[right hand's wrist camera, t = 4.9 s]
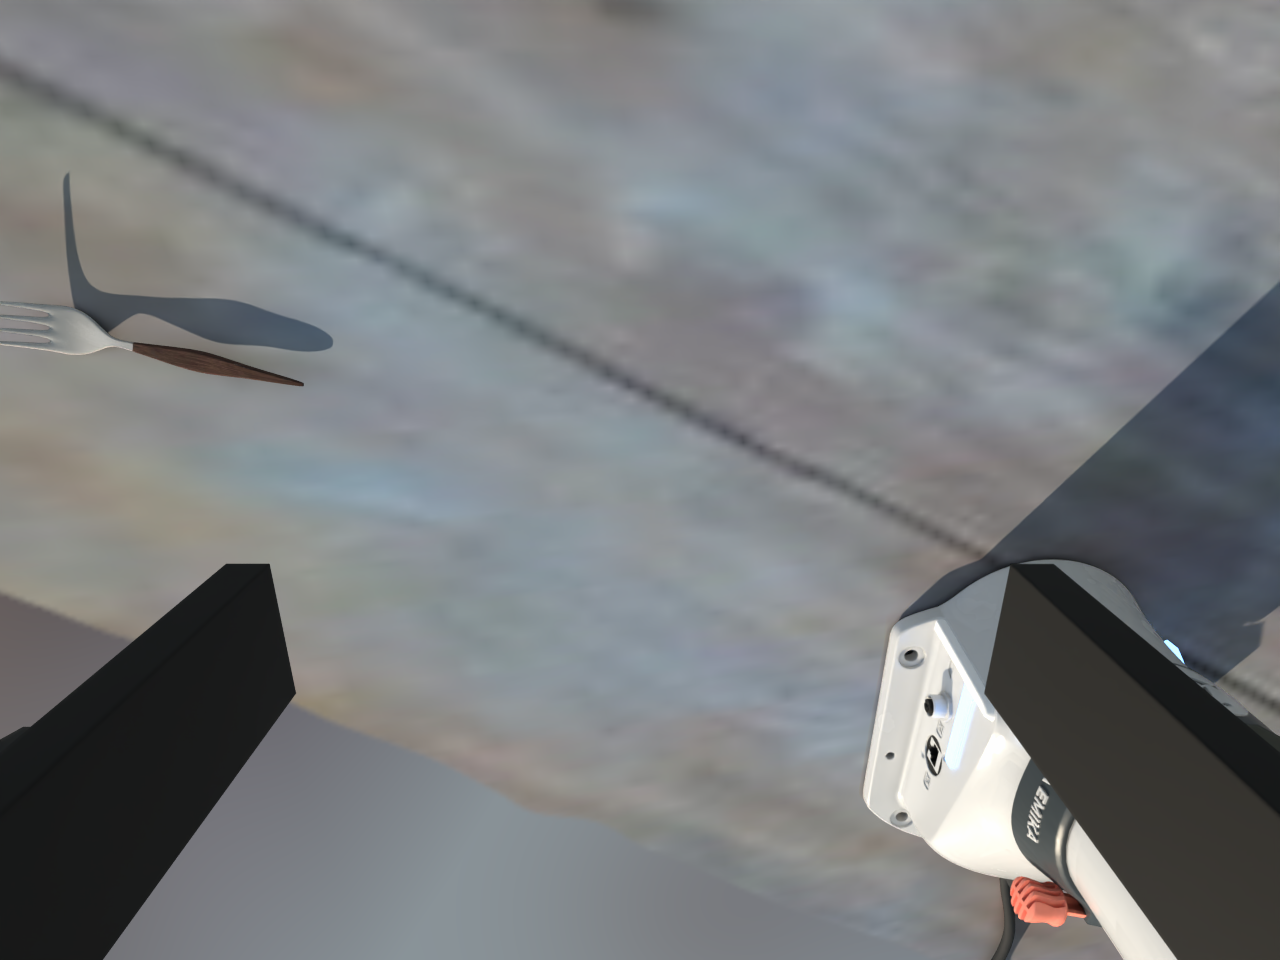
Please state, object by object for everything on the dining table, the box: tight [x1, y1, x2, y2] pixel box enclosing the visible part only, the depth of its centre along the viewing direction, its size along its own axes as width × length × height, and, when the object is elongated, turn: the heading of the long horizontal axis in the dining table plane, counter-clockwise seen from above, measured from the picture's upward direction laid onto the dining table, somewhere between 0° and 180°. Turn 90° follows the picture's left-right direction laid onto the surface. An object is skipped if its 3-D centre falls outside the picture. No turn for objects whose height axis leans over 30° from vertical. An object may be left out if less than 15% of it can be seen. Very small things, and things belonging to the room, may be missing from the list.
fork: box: [0, 301, 304, 386], centre depth 38 cm, size 3×16×2 cm, turn 76°
